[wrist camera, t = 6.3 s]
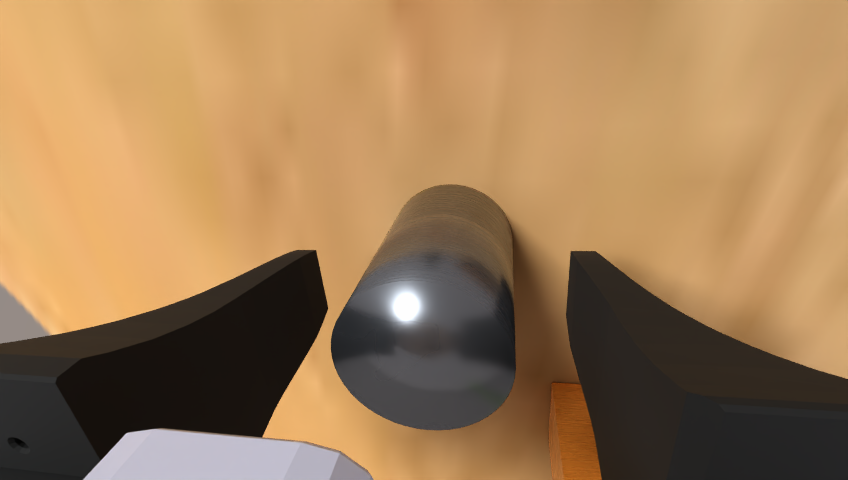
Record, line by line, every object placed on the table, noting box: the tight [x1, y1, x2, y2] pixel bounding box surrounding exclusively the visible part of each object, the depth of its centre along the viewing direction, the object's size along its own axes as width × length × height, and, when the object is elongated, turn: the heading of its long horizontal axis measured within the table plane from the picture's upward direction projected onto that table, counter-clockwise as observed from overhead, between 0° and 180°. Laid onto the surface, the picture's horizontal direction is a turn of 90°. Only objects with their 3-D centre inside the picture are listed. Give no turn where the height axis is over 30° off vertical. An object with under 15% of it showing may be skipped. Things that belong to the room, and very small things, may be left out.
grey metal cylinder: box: [331, 184, 516, 430], centre depth 12 cm, size 4×4×6 cm
